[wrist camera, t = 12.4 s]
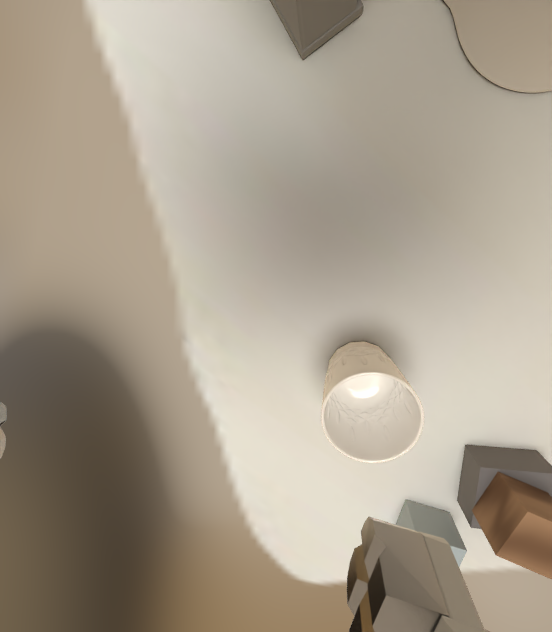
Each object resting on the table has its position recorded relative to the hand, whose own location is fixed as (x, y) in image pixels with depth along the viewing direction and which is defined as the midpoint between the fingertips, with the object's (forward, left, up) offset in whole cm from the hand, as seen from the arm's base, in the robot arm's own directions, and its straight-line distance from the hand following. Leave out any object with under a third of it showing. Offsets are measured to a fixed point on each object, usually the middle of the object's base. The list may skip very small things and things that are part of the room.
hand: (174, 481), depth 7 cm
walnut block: (+14, +26, -25) cm, 39 cm away
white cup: (+7, +9, -29) cm, 31 cm away
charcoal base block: (+14, +26, -29) cm, 42 cm away
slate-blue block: (+23, +21, -29) cm, 43 cm away
